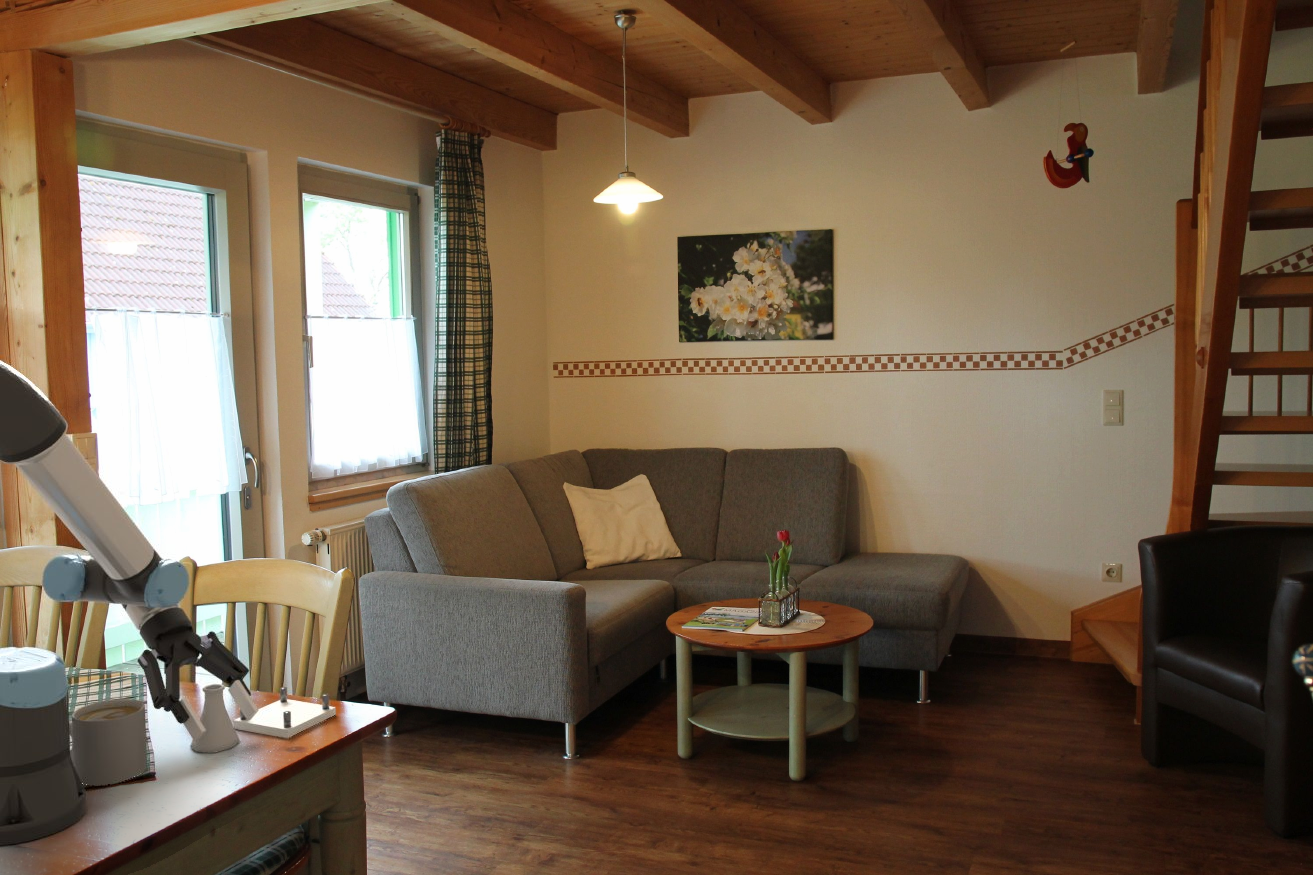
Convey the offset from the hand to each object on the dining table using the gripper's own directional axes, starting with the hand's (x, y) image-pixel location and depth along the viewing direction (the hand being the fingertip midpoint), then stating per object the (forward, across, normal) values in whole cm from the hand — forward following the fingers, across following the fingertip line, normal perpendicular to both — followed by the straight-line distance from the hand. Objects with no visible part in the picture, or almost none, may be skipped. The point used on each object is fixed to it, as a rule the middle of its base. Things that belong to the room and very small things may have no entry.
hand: (227, 725), depth 167 cm
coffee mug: (-4, +16, -10) cm, 19 cm away
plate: (+2, -13, -4) cm, 14 cm away
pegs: (+1, -13, -3) cm, 13 cm away
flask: (+1, 0, -5) cm, 5 cm away
